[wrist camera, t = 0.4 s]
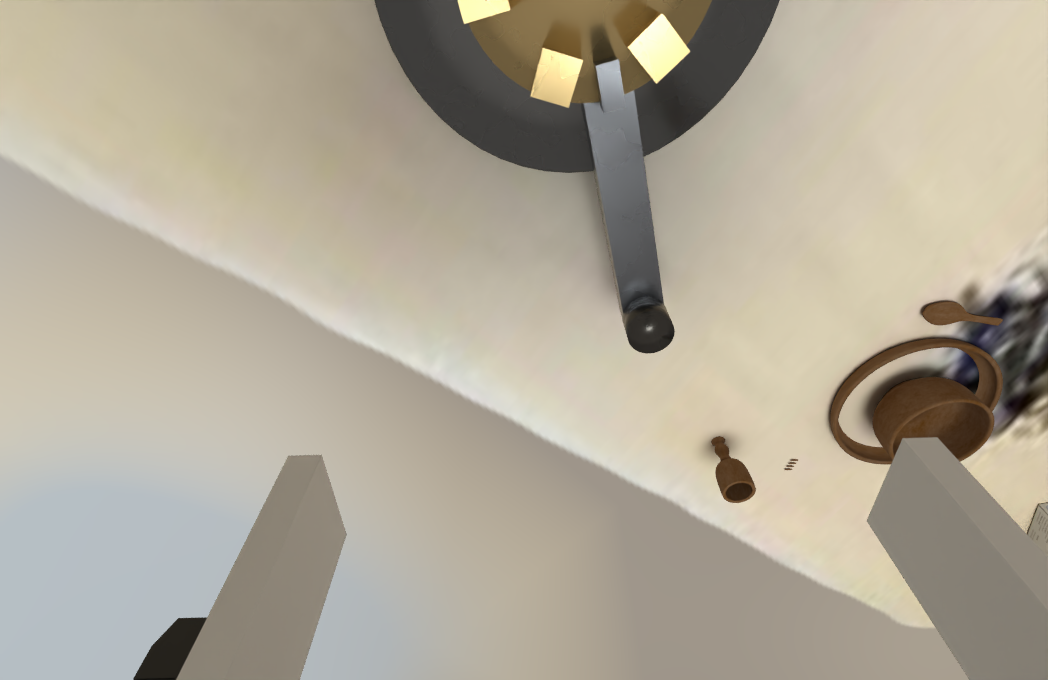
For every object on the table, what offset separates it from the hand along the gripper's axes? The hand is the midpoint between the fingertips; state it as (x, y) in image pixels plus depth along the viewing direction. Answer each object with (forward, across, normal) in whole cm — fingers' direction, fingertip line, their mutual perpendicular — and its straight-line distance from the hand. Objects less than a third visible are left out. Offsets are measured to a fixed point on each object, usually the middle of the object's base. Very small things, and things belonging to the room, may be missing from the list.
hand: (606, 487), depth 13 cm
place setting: (+25, +23, -17) cm, 38 cm away
